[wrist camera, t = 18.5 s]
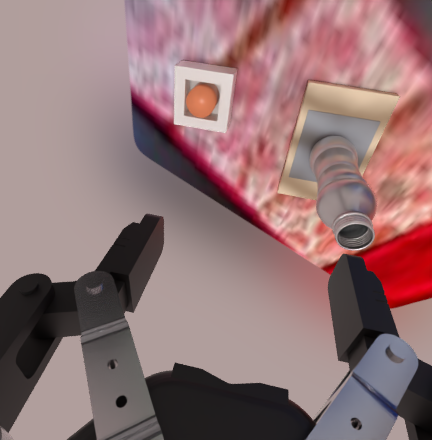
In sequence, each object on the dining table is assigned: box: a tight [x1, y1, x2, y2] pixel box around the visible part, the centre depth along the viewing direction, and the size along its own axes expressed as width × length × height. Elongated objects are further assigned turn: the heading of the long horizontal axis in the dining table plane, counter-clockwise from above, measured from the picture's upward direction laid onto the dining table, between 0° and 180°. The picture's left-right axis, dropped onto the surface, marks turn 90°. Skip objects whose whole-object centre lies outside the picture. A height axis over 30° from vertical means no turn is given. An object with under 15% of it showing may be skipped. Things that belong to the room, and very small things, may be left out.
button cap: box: [186, 82, 219, 118], centre depth 42 cm, size 4×4×4 cm
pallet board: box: [278, 80, 400, 200], centre depth 45 cm, size 18×12×2 cm, turn 174°
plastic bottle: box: [309, 136, 377, 250], centre depth 37 cm, size 6×7×20 cm
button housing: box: [174, 60, 237, 133], centre depth 43 cm, size 8×8×4 cm
